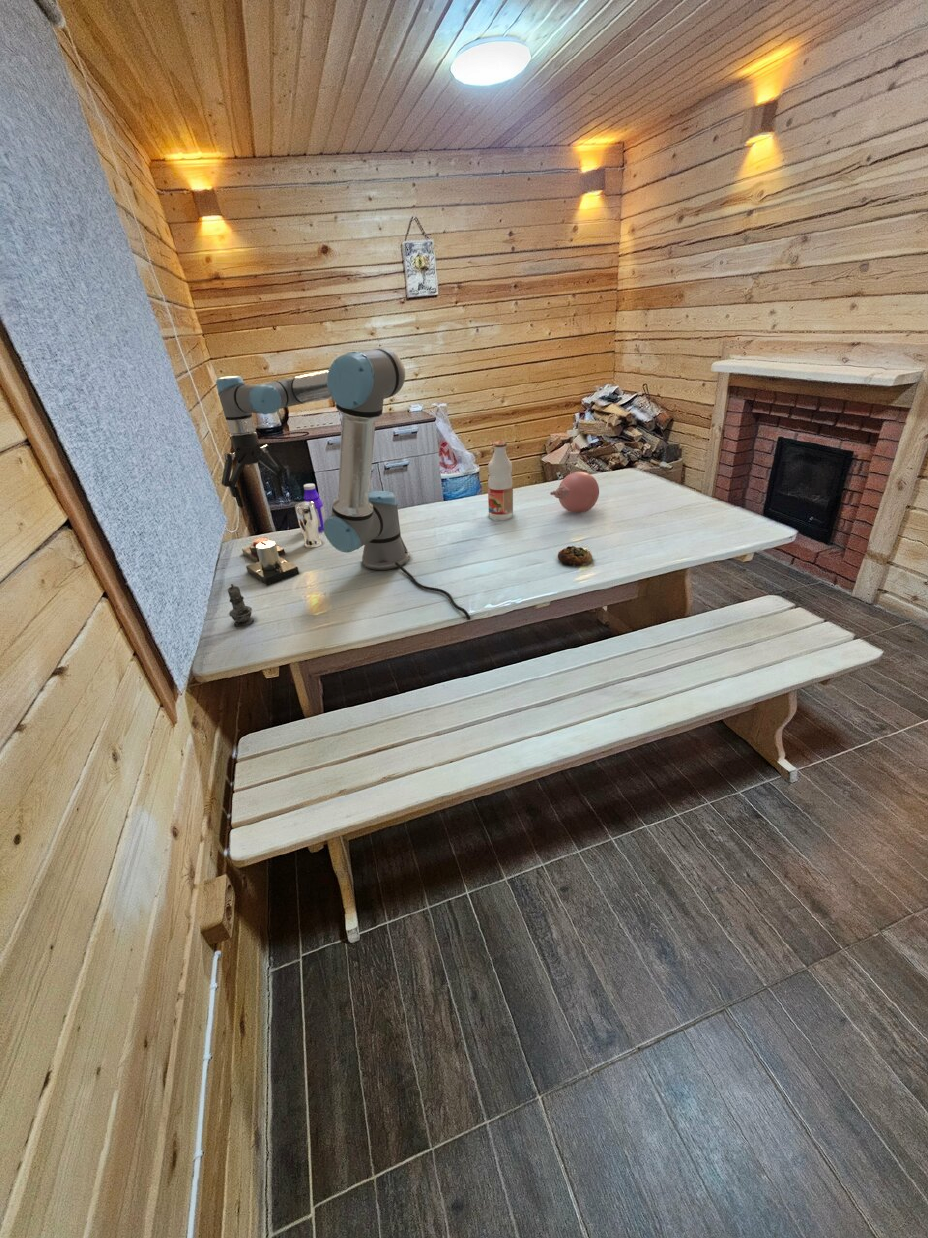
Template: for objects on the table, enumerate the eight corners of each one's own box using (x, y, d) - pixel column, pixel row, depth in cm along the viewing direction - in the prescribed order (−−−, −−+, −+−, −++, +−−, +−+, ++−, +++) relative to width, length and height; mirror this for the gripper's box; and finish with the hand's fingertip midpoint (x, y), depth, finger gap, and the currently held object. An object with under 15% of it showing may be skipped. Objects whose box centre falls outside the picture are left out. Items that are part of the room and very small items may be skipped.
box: (285, 554, 181) (282, 543, 179) (258, 563, 176) (255, 552, 173) (269, 545, 189) (267, 535, 187) (243, 554, 183) (240, 543, 181)
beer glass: (318, 548, 184) (309, 508, 176) (300, 548, 185) (290, 507, 177) (326, 540, 190) (318, 501, 182) (308, 540, 191) (299, 500, 183)
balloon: (539, 510, 205) (540, 472, 197) (584, 502, 210) (586, 464, 202) (558, 523, 193) (560, 482, 185) (605, 514, 198) (609, 474, 190)
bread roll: (553, 564, 163) (555, 549, 161) (560, 555, 172) (562, 540, 170) (589, 570, 159) (592, 554, 157) (594, 559, 169) (596, 544, 167)
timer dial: (284, 565, 167) (278, 543, 163) (266, 572, 164) (260, 549, 160) (275, 560, 171) (269, 538, 167) (258, 566, 167) (252, 544, 163)
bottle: (330, 527, 201) (321, 483, 192) (322, 532, 197) (313, 487, 188) (314, 525, 204) (304, 482, 195) (305, 531, 199) (296, 486, 190)
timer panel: (299, 573, 167) (297, 566, 166) (267, 585, 161) (265, 578, 160) (278, 561, 176) (277, 554, 175) (247, 572, 170) (245, 565, 168)
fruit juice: (515, 519, 199) (515, 444, 184) (491, 522, 198) (489, 446, 183) (509, 511, 207) (509, 438, 192) (486, 513, 206) (484, 440, 191)
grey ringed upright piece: (236, 618, 145) (223, 579, 139) (257, 616, 145) (246, 577, 139) (230, 629, 140) (216, 590, 134) (252, 627, 140) (239, 588, 134)
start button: (271, 544, 180) (270, 539, 179) (258, 548, 177) (256, 543, 176) (265, 540, 183) (263, 535, 182) (251, 545, 180) (250, 540, 179)
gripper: (276, 423, 166) (291, 489, 177) (196, 439, 152) (218, 508, 163) (286, 426, 161) (301, 493, 172) (205, 442, 148) (227, 513, 159)
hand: (261, 500), depth 168 cm, fingers open, 13 cm apart
